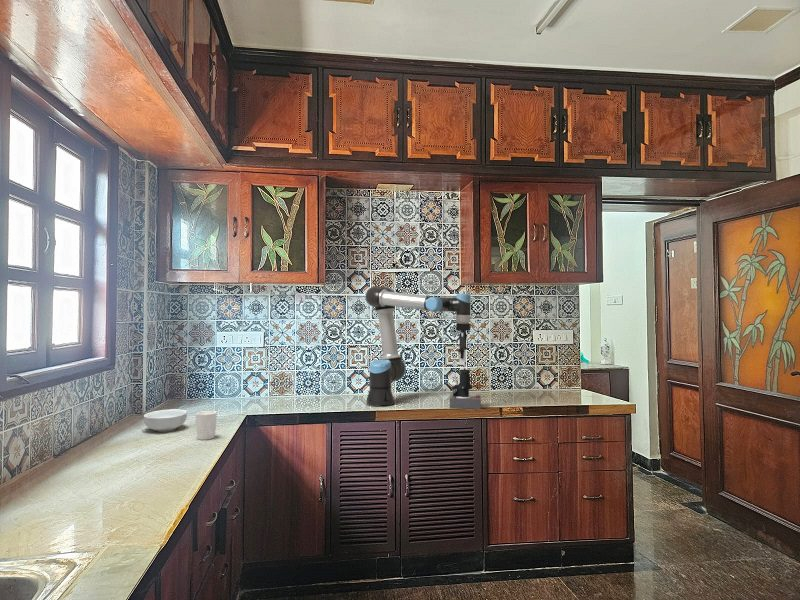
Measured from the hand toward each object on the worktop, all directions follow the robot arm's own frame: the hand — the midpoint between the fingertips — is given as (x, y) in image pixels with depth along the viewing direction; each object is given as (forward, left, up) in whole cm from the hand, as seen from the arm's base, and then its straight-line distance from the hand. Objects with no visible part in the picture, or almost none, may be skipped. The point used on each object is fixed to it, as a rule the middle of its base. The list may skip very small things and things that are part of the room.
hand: (462, 363), depth 260 cm
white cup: (-98, -81, -23) cm, 129 cm away
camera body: (+1, 0, -23) cm, 23 cm away
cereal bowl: (-123, -72, -23) cm, 144 cm away
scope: (0, 0, -18) cm, 18 cm away
